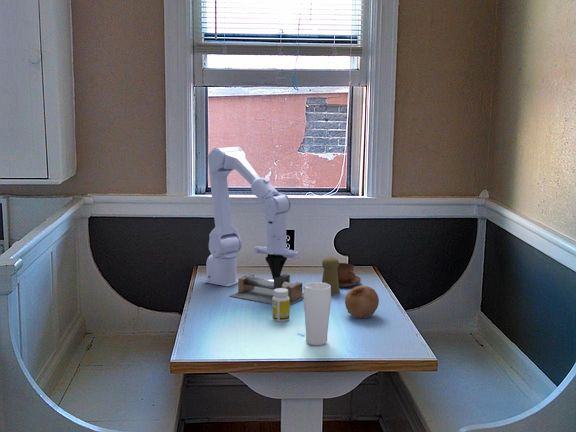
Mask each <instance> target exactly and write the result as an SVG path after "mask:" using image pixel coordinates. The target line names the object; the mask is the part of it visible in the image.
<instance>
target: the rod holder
mask: <svg viewBox="0 0 576 432" xmlns="http://www.w3.org/2000/svg"><path fill="white" fill-rule="evenodd" d="M237 279H238V283H237V285H238V286H237V290H238V293H242V294H244V293H246V292H248V291H250V290H252V289H254V287H260V288H266V289H271V290H274V279H270V278H264V277H259V276H255V274H251V273H249V274H245V275H244V276H242V277H239V278H237ZM281 288H285V289H288V296H289V298H290V302H291V303H292V302H294V301H296V300H298V299H300V298H302V293H303V282H300V281H296V282H290V283H289V282H286V281H283V282H282V285H281Z"/></svg>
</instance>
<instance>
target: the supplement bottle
mask: <svg viewBox="0 0 576 432" xmlns="http://www.w3.org/2000/svg"><path fill="white" fill-rule="evenodd" d="M271 306H272V307H271V308H272V309H271V311H272V314H271V315H272V320H273V321H275V322H280V323H282V322H287V321H289V320H290V315H291V314H290V311H291V310H290V307H291V305H290V298H289V296H288V289H285V288H277V289H274V296H273V298H272V304H271Z"/></svg>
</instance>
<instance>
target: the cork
mask: <svg viewBox="0 0 576 432" xmlns="http://www.w3.org/2000/svg"><path fill="white" fill-rule="evenodd" d="M321 263H322V264H321V266H322V269H323V273H322V279H321V282H323V283H327V284H329V285H330V286H331V296H337V295H339V294H340V292H341V291H340V286H339V282H338V273H337V268H338V267H339V263H340V262H339V259H338V258H336V257H325V258H323V260H322V261H321Z"/></svg>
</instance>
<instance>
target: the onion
mask: <svg viewBox="0 0 576 432" xmlns="http://www.w3.org/2000/svg"><path fill="white" fill-rule="evenodd" d="M379 303H380V299H379V295H378V293H377V292H376V290H375V289H374V288H372V287H371V286H369V285H357V286H355V287H353V288H351V289H350V290H349V291H348V292H347V294H346V295H345V299H344V304H345V310H347V313H348V314H349V315H352V316H353V317H354V318H356V319H365V318H368V317H370V316H372V315H374V314H375V312H376V311H377V309H378V307H379Z"/></svg>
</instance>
